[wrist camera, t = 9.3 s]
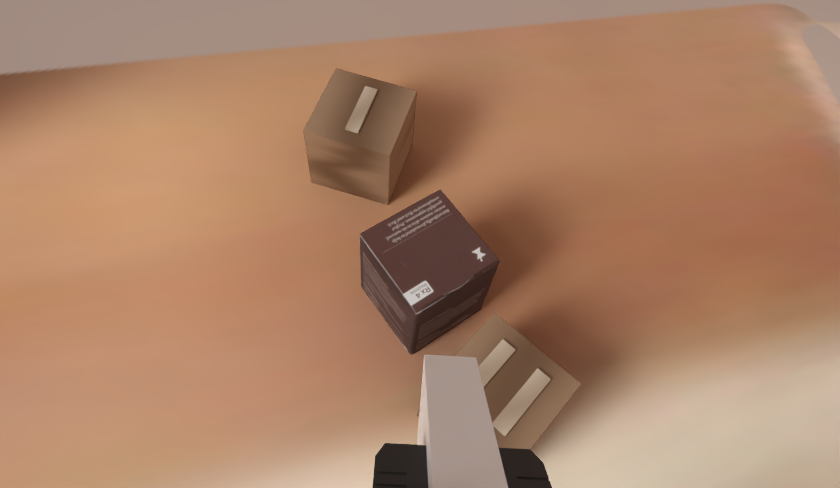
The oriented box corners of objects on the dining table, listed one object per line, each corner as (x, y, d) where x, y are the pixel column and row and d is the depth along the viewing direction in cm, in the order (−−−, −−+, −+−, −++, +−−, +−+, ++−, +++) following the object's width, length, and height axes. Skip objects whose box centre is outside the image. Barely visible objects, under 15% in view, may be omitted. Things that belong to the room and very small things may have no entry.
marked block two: (417, 416, 37) (424, 387, 31) (478, 347, 39) (495, 311, 34) (492, 486, 35) (514, 469, 30) (552, 411, 37) (582, 382, 32)
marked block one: (311, 183, 45) (303, 128, 39) (340, 124, 47) (335, 66, 42) (387, 205, 44) (390, 153, 39) (412, 144, 47) (416, 88, 42)
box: (432, 244, 43) (442, 186, 36) (483, 310, 40) (503, 260, 34) (359, 286, 41) (356, 232, 34) (408, 358, 38) (415, 314, 32)
